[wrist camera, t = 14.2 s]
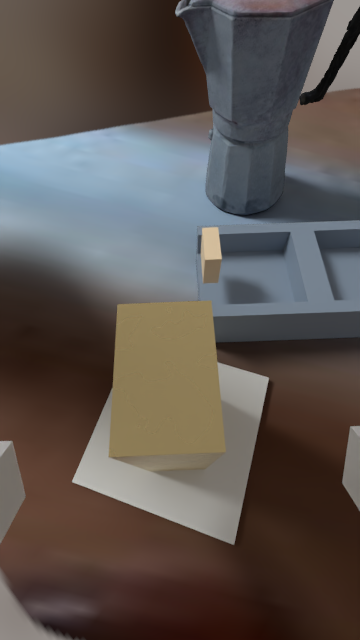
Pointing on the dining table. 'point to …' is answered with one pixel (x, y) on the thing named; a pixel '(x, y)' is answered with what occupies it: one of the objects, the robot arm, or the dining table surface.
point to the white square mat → (188, 485)
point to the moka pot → (257, 88)
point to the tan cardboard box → (166, 387)
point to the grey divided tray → (281, 280)
